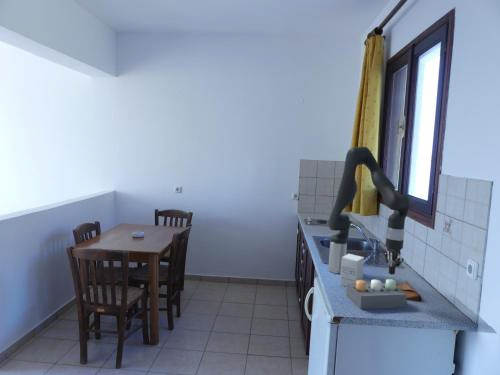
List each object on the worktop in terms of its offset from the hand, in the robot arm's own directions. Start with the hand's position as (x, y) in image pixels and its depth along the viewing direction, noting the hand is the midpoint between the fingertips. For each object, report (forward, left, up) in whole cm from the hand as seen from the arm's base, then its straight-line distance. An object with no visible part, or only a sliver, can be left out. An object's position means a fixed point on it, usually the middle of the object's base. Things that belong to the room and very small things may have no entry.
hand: (391, 273), depth 162 cm
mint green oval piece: (0, 0, -9) cm, 9 cm away
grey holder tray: (0, -7, -13) cm, 15 cm away
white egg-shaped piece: (0, -7, -9) cm, 12 cm away
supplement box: (-20, -9, -13) cm, 26 cm away
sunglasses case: (-7, +14, -14) cm, 21 cm away
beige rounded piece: (0, -15, -9) cm, 17 cm away
